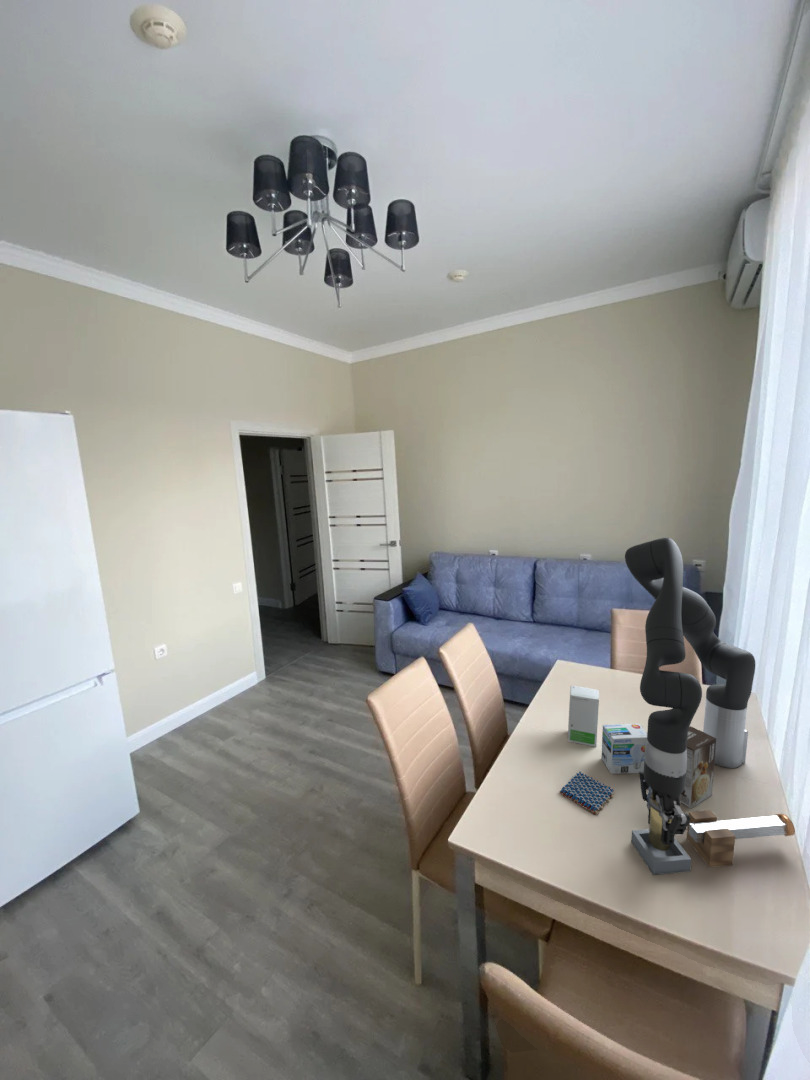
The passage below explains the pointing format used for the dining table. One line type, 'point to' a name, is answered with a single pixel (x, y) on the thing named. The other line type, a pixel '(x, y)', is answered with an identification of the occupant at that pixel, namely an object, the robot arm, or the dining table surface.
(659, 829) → the yellow glass jar
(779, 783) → the dining table surface
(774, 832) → the pin
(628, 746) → the light bulb box
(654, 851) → the box
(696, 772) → the coffee box
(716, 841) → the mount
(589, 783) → the woven mat
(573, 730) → the skincare box
